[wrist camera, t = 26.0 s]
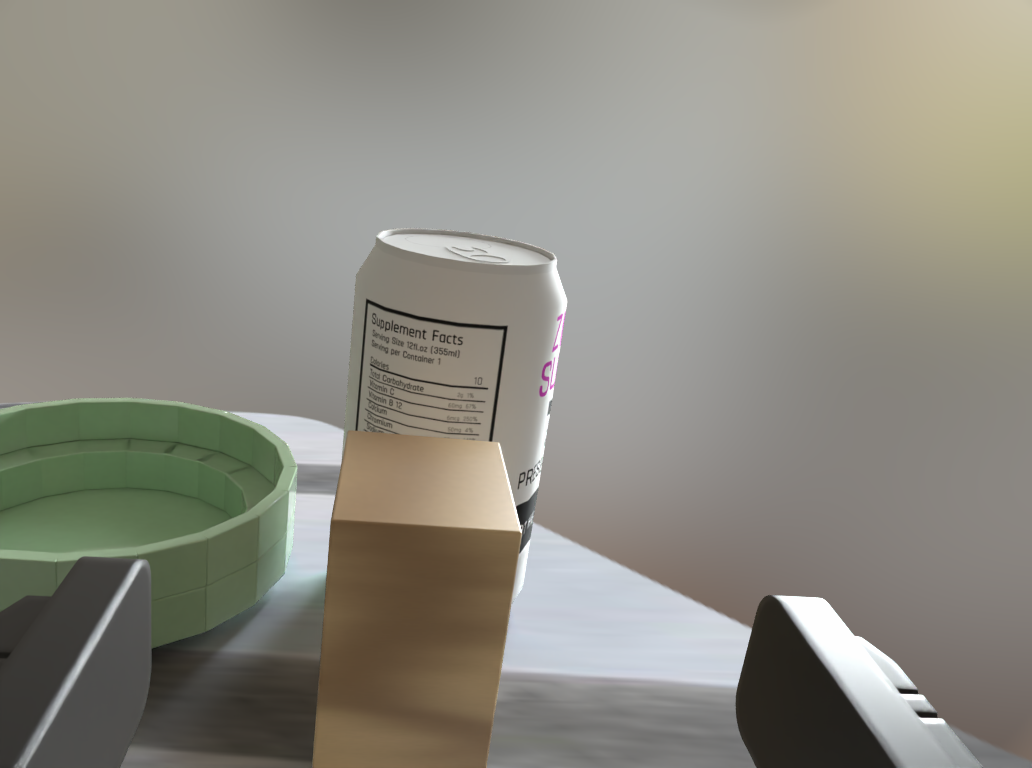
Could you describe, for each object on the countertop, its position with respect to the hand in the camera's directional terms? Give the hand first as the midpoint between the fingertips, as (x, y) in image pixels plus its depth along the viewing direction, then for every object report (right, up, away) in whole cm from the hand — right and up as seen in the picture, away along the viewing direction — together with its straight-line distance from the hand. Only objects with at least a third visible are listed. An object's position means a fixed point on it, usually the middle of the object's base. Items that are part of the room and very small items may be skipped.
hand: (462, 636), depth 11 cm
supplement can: (-3, -6, +26) cm, 27 cm away
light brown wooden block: (-3, -9, +14) cm, 17 cm away
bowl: (-17, -4, +25) cm, 30 cm away
